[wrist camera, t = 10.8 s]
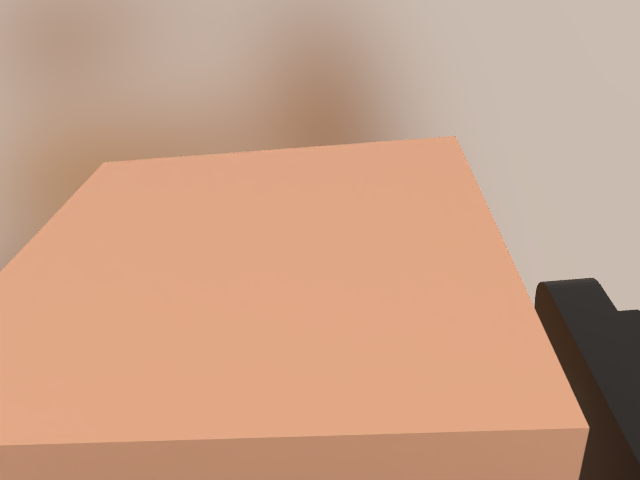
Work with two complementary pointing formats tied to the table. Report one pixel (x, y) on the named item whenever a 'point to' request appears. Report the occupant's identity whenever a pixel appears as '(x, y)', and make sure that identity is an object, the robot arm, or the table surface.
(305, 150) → the pillar
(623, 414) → the robot arm
